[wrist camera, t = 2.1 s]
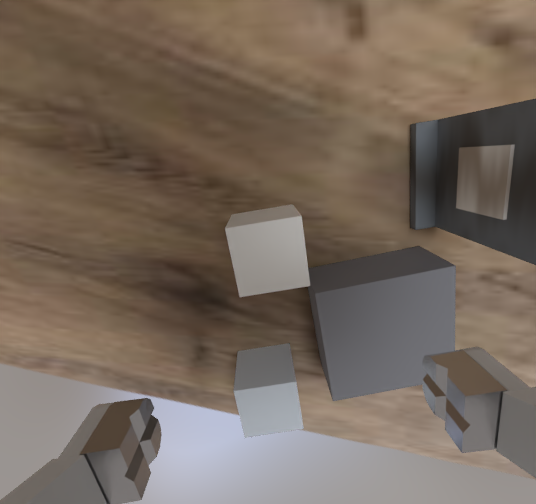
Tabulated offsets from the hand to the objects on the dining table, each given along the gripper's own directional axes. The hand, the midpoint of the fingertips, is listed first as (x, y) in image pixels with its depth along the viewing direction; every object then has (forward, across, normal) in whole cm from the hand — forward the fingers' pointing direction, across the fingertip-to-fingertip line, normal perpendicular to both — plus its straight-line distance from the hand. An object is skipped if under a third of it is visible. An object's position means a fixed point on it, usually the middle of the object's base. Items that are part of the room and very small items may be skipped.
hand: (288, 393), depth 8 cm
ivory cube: (+16, 0, 0) cm, 16 cm away
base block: (+17, -8, +8) cm, 20 cm away
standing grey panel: (+16, -14, -4) cm, 22 cm away
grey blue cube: (+16, +2, +12) cm, 21 cm away
